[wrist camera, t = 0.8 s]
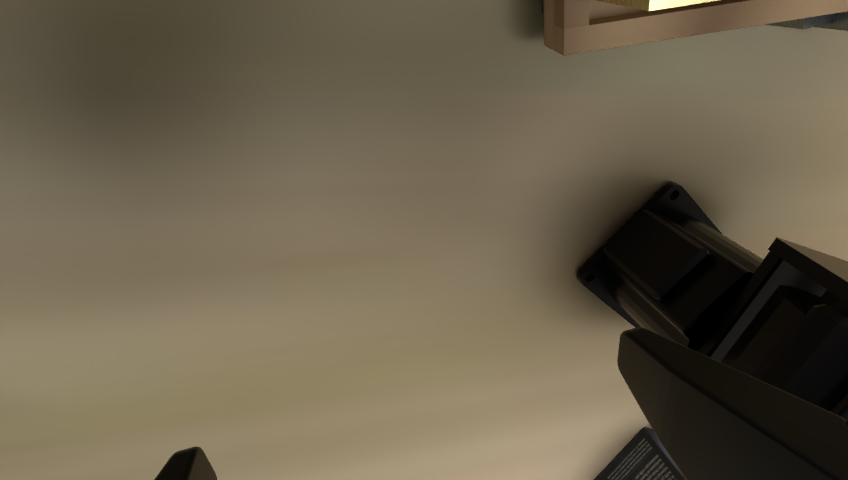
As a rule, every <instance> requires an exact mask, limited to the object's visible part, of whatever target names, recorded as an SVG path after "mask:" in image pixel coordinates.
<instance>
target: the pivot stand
mask: <svg viewBox="0 0 848 480" xmlns="http://www.w3.org/2000/svg"><path fill="white" fill-rule="evenodd" d="M542 12H544V0H542ZM763 25H772V26H781V27H789V28H798V29H805V28H810V27H818V28H827V29H836V30H846V31H848V11H847V12H840V13H834V14H827V15H821V16H815V17H808V18H802V19H795V20H789V21H782V22H776V23H769V24H763Z"/></svg>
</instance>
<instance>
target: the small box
mask: <svg viewBox="0 0 848 480" xmlns="http://www.w3.org/2000/svg"><path fill="white" fill-rule="evenodd" d="M595 480H687V479H686V478H685V477H684V475H683V474H682V472H681V471H680V469H679V468H678V467H677V465H676V464H675V462H674V461H673V460H672V458H671V457H670V455H669V454H668V453H667V451H666V450H665V448H664V447H663V445H662V444H661V442H660V441H659V439H658V438H657V436H656V434H655V433H654V431H653V430H651V429H648V428H643V429H642V430H641V431H640V432H639V433H638V434H637V435H636V436H635V437H634V438H633V439H632V441H631V442H630V443H629V444H628V445H627V446H626V447H625V448H624V449H623V450H622V451H621V452H620V453H619V455H618V456H617V457H616V458H615V459H614V460H613V461H612V462H611V463H610V464H609V465H608V466H607V468H606V469H605V470H604V471H603V472H602V473H601V474H600V475H599V476H598V477H597V478H596V479H595Z"/></svg>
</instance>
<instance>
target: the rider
mask: <svg viewBox="0 0 848 480" xmlns="http://www.w3.org/2000/svg"><path fill="white" fill-rule="evenodd" d="M597 1H602V2H606V3H611V4H616V5H621V6H626V7H631V8H636V9H640V10H645V11H653V10H660V9H666V8H673V7H679V6H686V5H692V4H698V3H705V2H711V1H718V0H597Z"/></svg>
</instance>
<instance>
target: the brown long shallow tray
mask: <svg viewBox="0 0 848 480" xmlns="http://www.w3.org/2000/svg"><path fill="white" fill-rule="evenodd" d="M847 11H848V0H718V1H711V2H705V3H698V4H692V5H686V6H679V7H673V8H666V9H660V10H653V11H645V10H640V9H636V8H631V7H626V6H621V5H616V4H611V3H606V2H602V1H597V0H544V45H545V46H547V47H549V48H551V49H553V50H555V51H556V52H558V53H560V54H562V55H570V54H576V53H583V52H589V51H596V50H602V49H609V48H615V47H621V46H628V45H634V44H641V43H647V42H654V41H660V40H666V39H673V38H679V37H686V36H692V35H699V34H705V33H712V32H718V31H724V30H731V29H737V28H744V27H750V26H757V25H763V24H769V23H776V22H782V21H789V20H795V19H802V18H808V17H815V16H821V15H827V14H834V13H840V12H847Z"/></svg>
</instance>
